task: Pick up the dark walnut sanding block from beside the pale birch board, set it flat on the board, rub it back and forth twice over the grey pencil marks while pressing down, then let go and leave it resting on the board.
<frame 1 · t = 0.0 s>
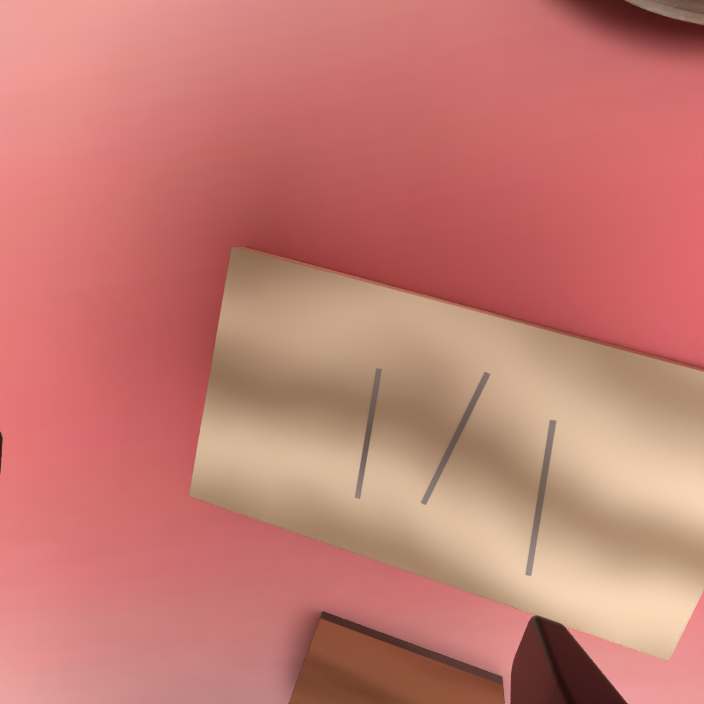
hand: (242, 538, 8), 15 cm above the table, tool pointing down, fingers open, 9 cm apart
sanding block: (397, 681, 26), on the table
board: (450, 444, 22), on the table
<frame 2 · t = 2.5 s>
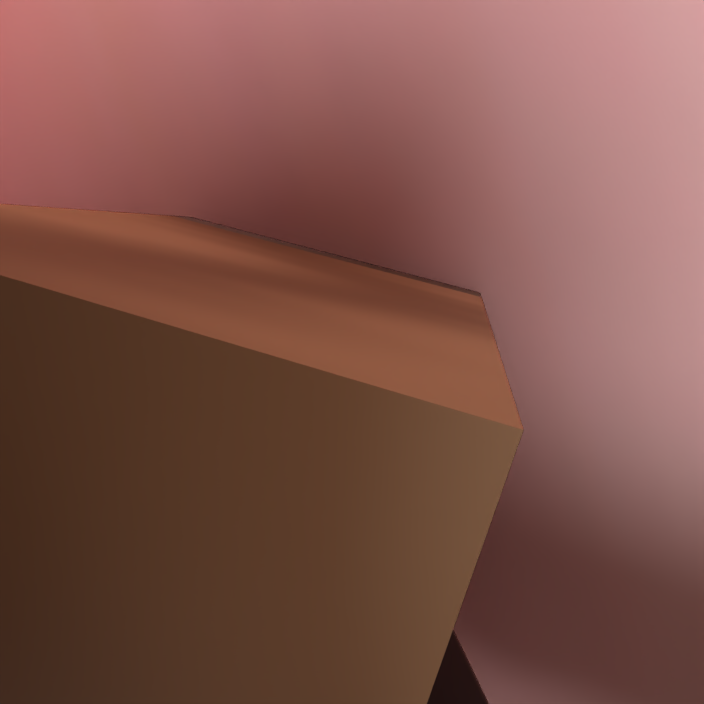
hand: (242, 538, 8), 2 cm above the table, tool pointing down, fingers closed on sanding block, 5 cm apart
sanding block: (276, 491, 10), on the table, touching gripper
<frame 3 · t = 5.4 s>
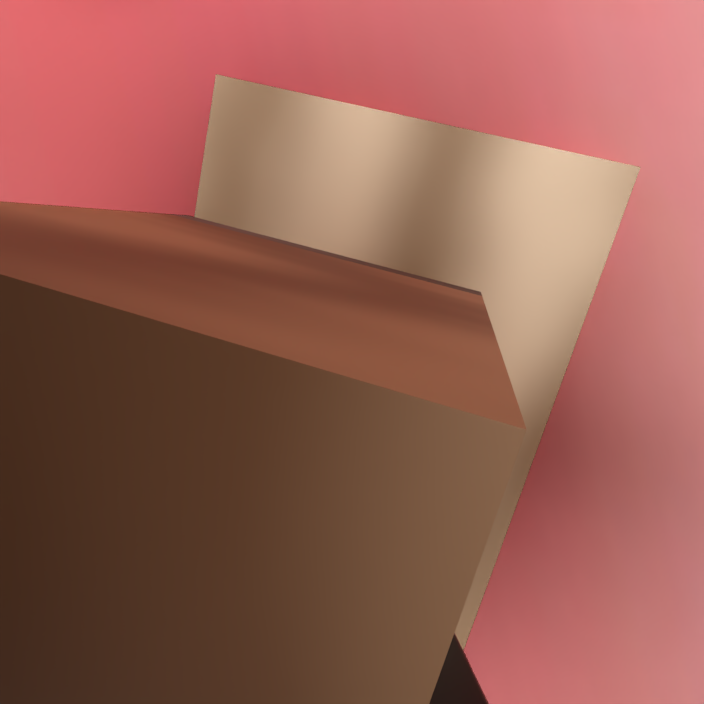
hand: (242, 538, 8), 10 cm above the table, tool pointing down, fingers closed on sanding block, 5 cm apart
sanding block: (275, 492, 10), point 8 cm above the table, touching gripper
board: (334, 457, 18), on the table
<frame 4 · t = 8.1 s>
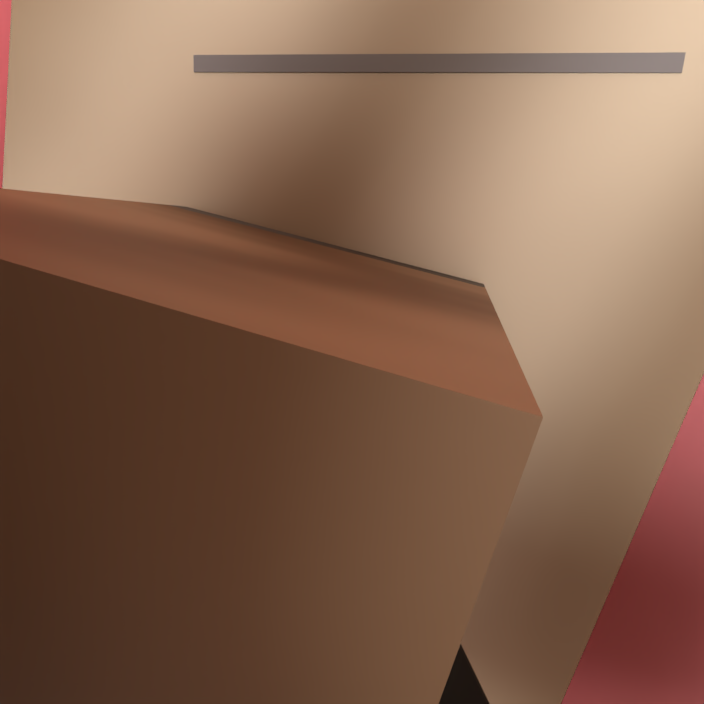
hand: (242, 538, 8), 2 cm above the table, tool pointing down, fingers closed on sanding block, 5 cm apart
sanding block: (274, 488, 9), point 1 cm above the table, touching gripper
board: (324, 306, 10), on the table
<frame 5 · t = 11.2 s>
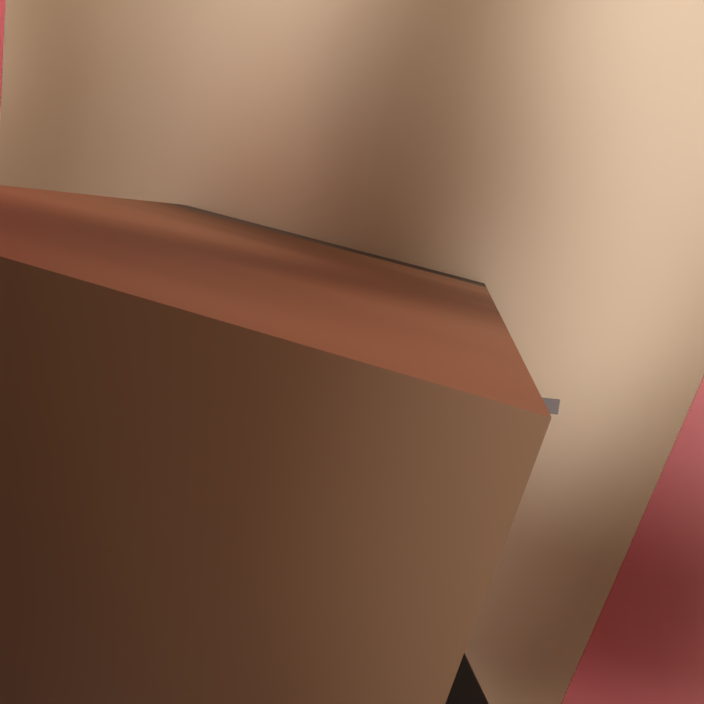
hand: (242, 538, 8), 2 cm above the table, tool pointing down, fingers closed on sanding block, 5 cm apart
sanding block: (272, 489, 9), point 1 cm above the table, touching gripper
board: (271, 535, 11), on the table
when the fingers open (3 cm above the table, at t = 13.9 s): sanding block stays where it is, resting on board.
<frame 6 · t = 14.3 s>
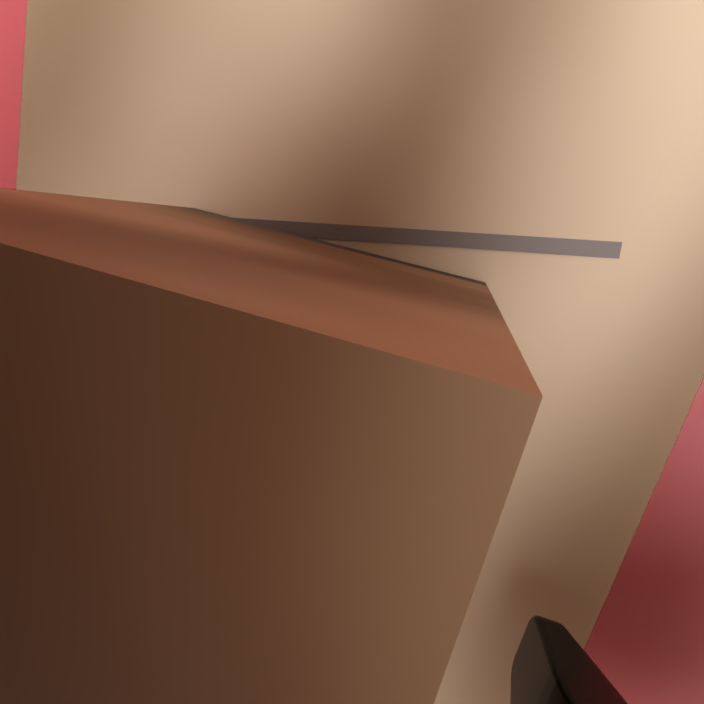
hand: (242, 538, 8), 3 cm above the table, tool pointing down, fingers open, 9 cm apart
sanding block: (280, 484, 10), point 1 cm above the table, touching board
board: (304, 424, 10), on the table
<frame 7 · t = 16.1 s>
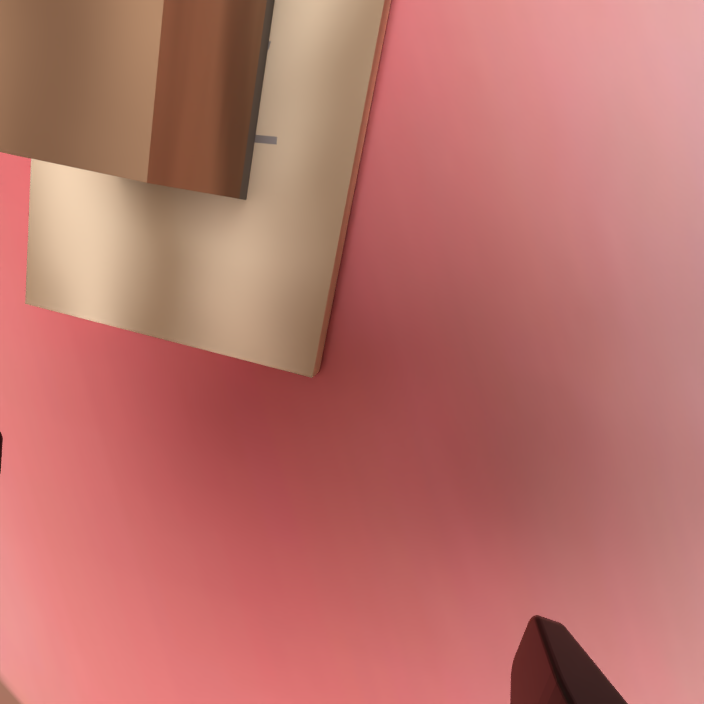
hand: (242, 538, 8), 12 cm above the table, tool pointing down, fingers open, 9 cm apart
sanding block: (195, 46, 17), point 1 cm above the table, touching board
board: (212, 30, 18), on the table
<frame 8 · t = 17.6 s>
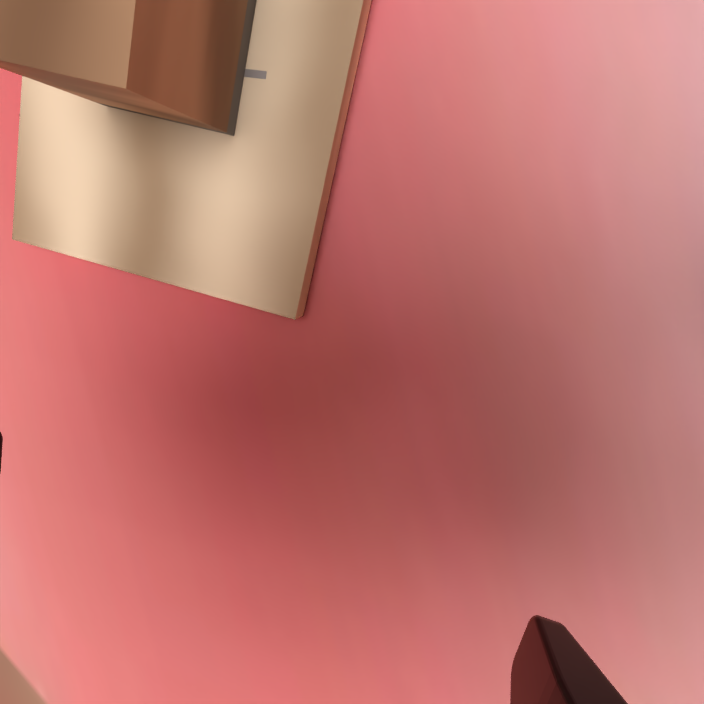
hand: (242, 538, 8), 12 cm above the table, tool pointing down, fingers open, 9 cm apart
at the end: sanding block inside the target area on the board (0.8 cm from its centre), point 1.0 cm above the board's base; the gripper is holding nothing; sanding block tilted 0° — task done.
